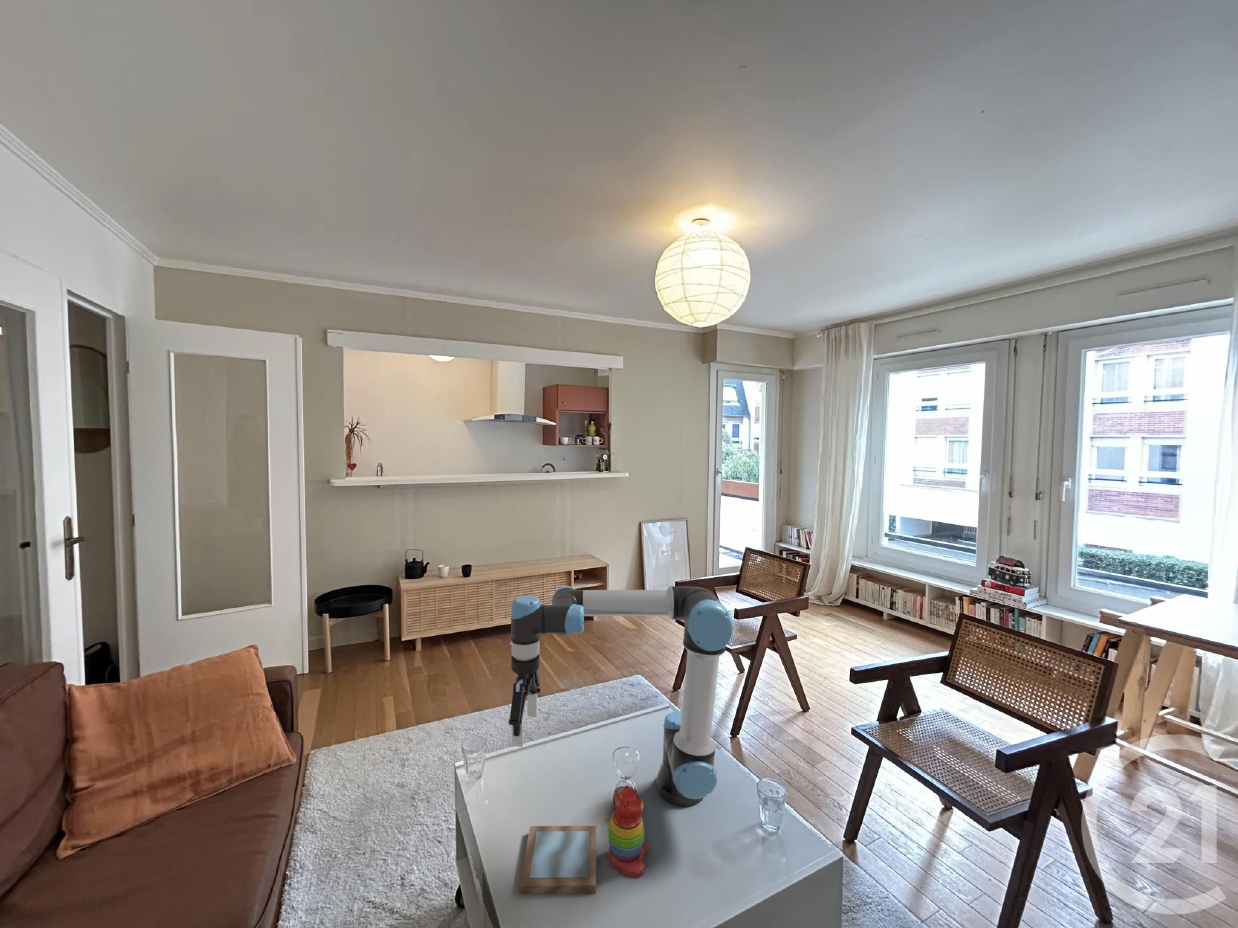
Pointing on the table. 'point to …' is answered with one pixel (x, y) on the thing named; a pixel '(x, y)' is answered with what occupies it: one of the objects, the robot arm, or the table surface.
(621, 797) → the stacking bear
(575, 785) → the table surface
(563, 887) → the base board
